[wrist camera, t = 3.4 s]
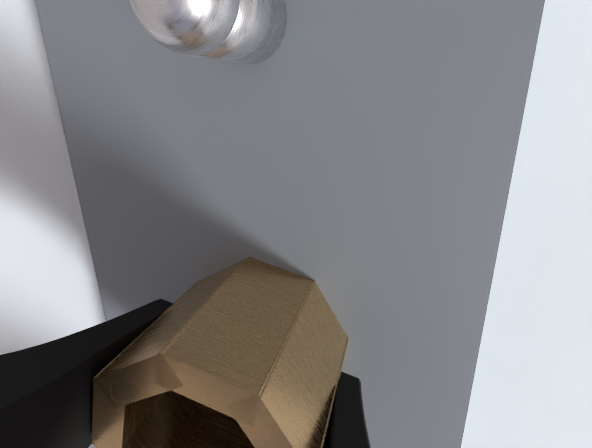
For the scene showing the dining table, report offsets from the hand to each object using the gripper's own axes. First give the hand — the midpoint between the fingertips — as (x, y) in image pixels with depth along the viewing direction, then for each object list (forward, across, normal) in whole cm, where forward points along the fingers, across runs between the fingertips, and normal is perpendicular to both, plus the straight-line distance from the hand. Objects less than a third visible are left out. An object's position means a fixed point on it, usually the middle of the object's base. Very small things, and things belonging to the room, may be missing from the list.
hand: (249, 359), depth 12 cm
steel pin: (+1, +3, -10) cm, 10 cm away
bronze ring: (+1, 0, 0) cm, 1 cm away
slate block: (+3, +1, -4) cm, 5 cm away
